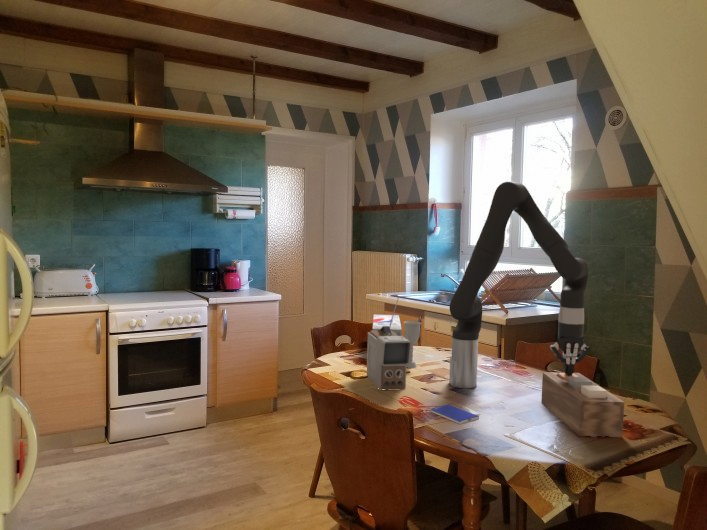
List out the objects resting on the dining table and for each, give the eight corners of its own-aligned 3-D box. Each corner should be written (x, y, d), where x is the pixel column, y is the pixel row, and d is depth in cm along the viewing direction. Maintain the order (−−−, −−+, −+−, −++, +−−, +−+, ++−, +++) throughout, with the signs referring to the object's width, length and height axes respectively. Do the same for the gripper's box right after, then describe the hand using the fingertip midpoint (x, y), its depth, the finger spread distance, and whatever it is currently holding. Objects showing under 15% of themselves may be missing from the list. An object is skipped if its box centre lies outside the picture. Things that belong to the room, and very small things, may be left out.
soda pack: (401, 361, 236) (402, 329, 235) (370, 360, 236) (371, 328, 235) (398, 341, 276) (399, 313, 275) (372, 340, 277) (373, 312, 276)
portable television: (380, 393, 190) (383, 306, 188) (365, 374, 214) (367, 296, 211) (414, 392, 193) (417, 305, 191) (395, 373, 216) (397, 296, 214)
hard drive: (430, 408, 173) (460, 420, 163) (449, 403, 178) (479, 415, 168) (430, 413, 173) (459, 425, 163) (449, 408, 178) (479, 420, 168)
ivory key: (587, 407, 158) (588, 390, 158) (580, 401, 163) (581, 385, 163) (605, 407, 158) (606, 390, 158) (597, 401, 163) (598, 385, 163)
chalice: (422, 366, 228) (424, 322, 227) (415, 369, 223) (416, 324, 221) (406, 363, 232) (408, 320, 231) (399, 366, 226) (400, 322, 225)
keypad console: (579, 436, 155) (581, 401, 154) (541, 402, 185) (542, 372, 184) (622, 437, 155) (624, 401, 155) (577, 402, 185) (579, 372, 185)
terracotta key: (562, 391, 176) (563, 376, 176) (556, 387, 181) (557, 372, 181) (578, 392, 176) (579, 377, 176) (572, 387, 181) (572, 372, 181)
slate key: (574, 397, 167) (575, 381, 167) (568, 392, 172) (568, 376, 172) (591, 397, 167) (592, 381, 167) (584, 392, 172) (585, 377, 172)
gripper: (554, 322, 173) (552, 378, 175) (597, 323, 173) (594, 378, 175) (546, 318, 181) (543, 371, 182) (586, 319, 181) (584, 372, 182)
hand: (568, 375), depth 178 cm, fingers closed
